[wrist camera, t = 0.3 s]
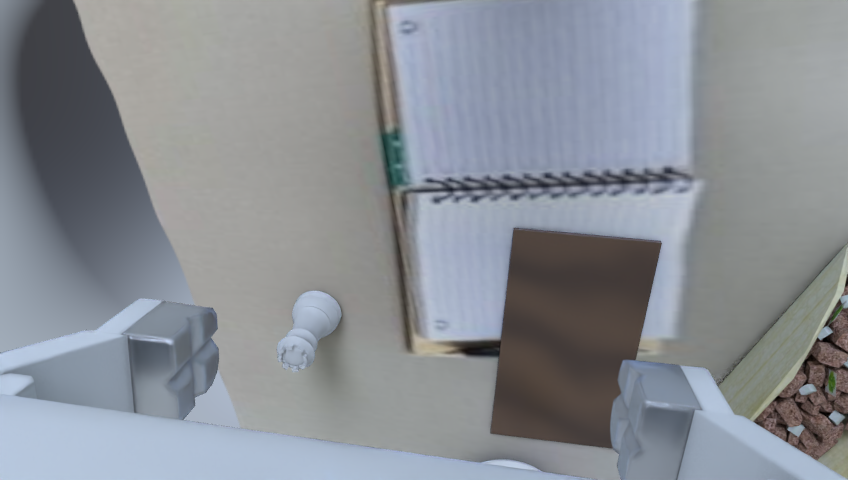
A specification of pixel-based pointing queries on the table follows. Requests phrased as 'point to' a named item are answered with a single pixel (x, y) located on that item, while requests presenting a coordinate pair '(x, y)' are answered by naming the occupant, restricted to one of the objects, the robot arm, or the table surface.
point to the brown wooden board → (569, 332)
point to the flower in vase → (511, 464)
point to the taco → (802, 372)
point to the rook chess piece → (308, 329)
